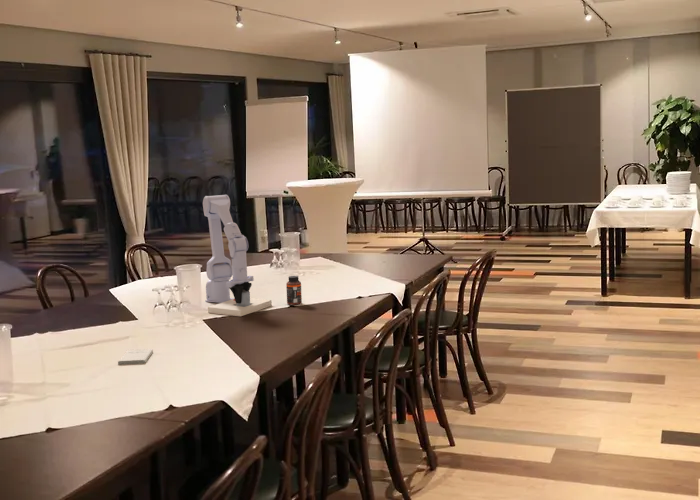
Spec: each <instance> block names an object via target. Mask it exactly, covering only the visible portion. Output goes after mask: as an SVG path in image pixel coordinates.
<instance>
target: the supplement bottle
mask: <svg viewBox="0 0 700 500" xmlns="http://www.w3.org/2000/svg"><path fill="white" fill-rule="evenodd" d="M285 287H286V303H287V305H289V306H298V305H301V304H302V303H303V301H302V300H303V298H302V283H301V281H300V279H299V275H289V276H288V281H286V286H285Z"/></svg>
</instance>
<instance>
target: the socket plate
mask: <svg viewBox="0 0 700 500" xmlns="http://www.w3.org/2000/svg"><path fill="white" fill-rule="evenodd" d="M268 307H272V299H265V298H264V299H263V298H253V297H250V305H249V306H246V307H241V306H237V303H236V301H235V298H234V299H232V300H229V301H226V302H222V303H216V304H213V305H210V306H207V313H208V314H217V315H218V314H219V315H226V316H232V317H233V316H234V317H242V316H246V315H249V314H252V313H254V312H257V311H260V310H263V309H266V308H268Z"/></svg>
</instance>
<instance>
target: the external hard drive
mask: <svg viewBox="0 0 700 500" xmlns="http://www.w3.org/2000/svg"><path fill="white" fill-rule="evenodd" d="M152 352H153V353H154V349H152V348H147V349H146V348H144V349H128V350H126V352H125V353H124V354H123V355H122V357H120V359H119V360H118V361H117V365H120V366H121V365H139V364H138V363H142V364H146V363H147V362H148V360H149V359H150V357H151V356H152V354H153V353H152ZM150 355H151V356H150ZM149 356H150V357H149ZM148 358H149V359H148ZM147 359H148V360H147ZM146 361H147V362H146ZM145 362H146V363H145Z"/></svg>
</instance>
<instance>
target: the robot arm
mask: <svg viewBox="0 0 700 500" xmlns="http://www.w3.org/2000/svg"><path fill="white" fill-rule="evenodd" d="M202 207H203V214H204V217H207V220H208V228H209V229H208V231H209V236H210V237H209V238H210V245H211V253H212V256H211V258H210V259H209V260H208V261H207V262H206V276H207V278H208V280H207V282H206V284H205V294H206V296H205V297H206V299H205V302H209V303H216V304H219V303H222V302H226V301H229V300H232V299H235V301H236V303H241V300H242V290H245V291H248V292H250V289H251V287H252V285H253V284H252V282H254V281H255V279H254V276H253V275H248V264H247V263H248V262H247V251H248V250H249V241H248V238H247V236H245V235H244V234H242V233H241V232H242V231H241V230H240V228H239V226H238V224H237V223H236V222H234V221H233V217H232V215H231V211H230V209H231V199H230V197H229V195H228V194H220V195H218V194H217V195H205V196H204V197H203V200H202ZM221 222H222V223H221ZM222 224H223V226H224V227H223V230H222ZM222 231H224V234H225V237H226V238H227V241H228V244H227V246H228V250H229V256H230V257H231V259H230V258H229V257H226V256H225V248H224V241H223V232H222ZM231 278H232V279H231ZM231 293H232V295H233V297H231Z"/></svg>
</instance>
